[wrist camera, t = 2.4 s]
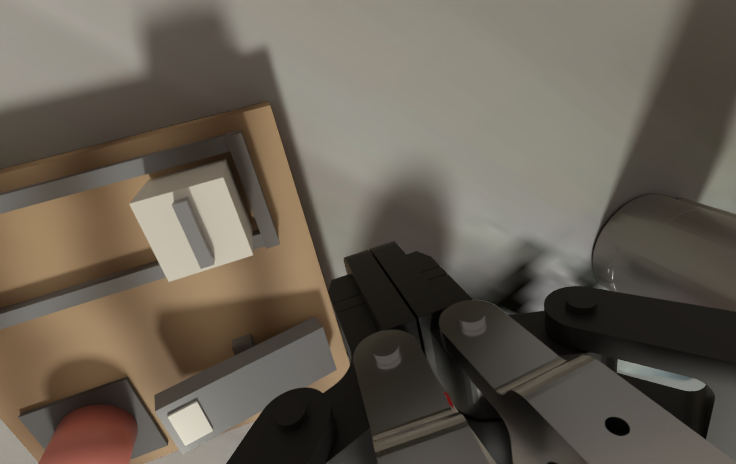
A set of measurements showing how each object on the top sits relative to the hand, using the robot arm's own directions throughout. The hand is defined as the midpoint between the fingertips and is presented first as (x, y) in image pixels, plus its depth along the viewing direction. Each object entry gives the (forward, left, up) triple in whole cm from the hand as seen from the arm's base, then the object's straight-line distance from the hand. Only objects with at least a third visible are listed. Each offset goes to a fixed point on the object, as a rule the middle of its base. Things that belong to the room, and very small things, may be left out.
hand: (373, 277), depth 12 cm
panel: (+11, +6, -15) cm, 20 cm away
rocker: (+7, +11, -11) cm, 17 cm away
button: (+17, +12, -13) cm, 24 cm away
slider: (+6, 0, -13) cm, 14 cm away
